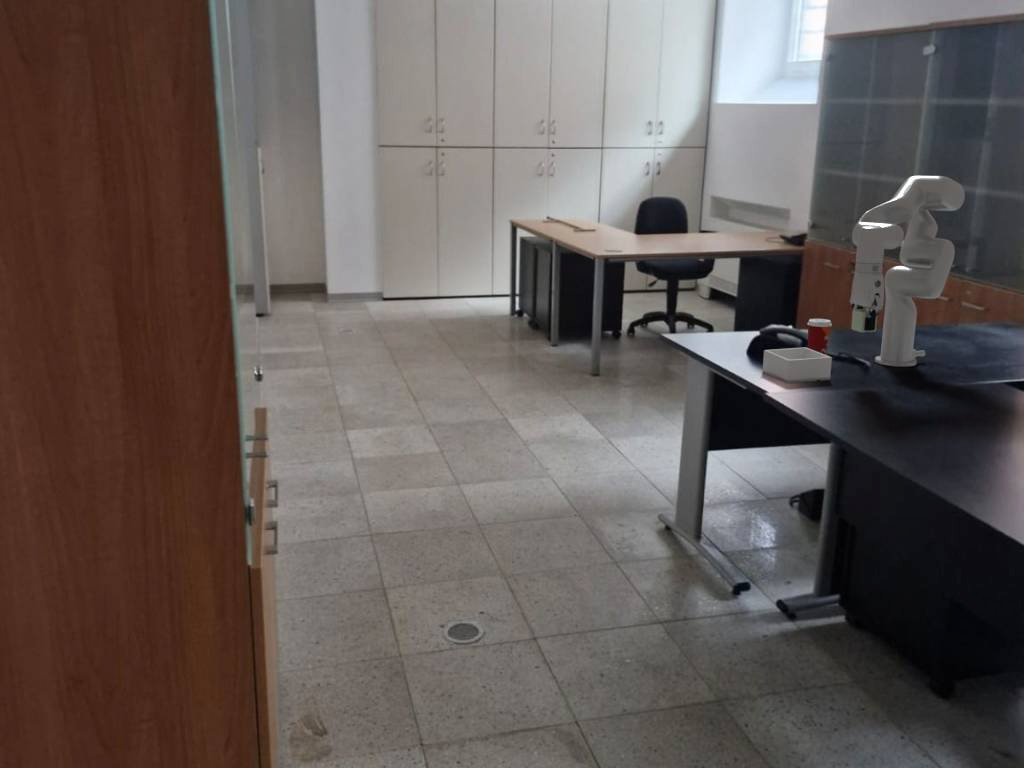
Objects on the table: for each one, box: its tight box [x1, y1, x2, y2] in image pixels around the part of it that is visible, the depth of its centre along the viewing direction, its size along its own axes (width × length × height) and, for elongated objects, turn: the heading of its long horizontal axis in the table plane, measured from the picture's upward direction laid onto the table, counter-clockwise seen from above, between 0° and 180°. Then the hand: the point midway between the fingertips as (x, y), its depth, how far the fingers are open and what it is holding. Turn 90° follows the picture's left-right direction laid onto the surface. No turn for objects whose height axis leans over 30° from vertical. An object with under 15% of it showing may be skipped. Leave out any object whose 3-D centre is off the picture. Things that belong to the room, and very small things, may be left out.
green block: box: [850, 308, 878, 333], centre depth 270 cm, size 5×5×6 cm
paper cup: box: [806, 318, 833, 356], centre depth 294 cm, size 8×8×14 cm
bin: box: [762, 346, 833, 384], centre depth 278 cm, size 15×15×7 cm
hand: (863, 327), depth 271 cm, fingers closed on green block, 5 cm apart
